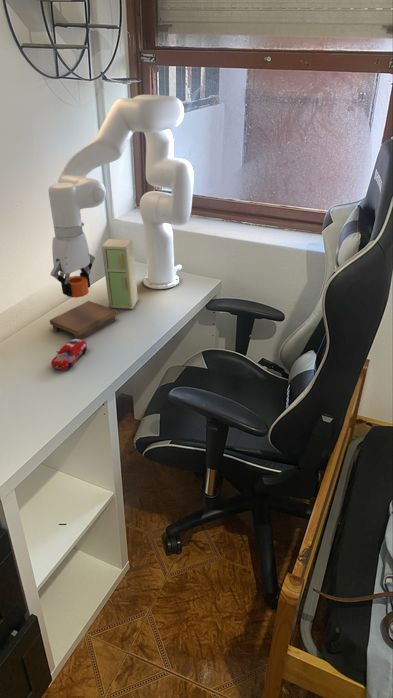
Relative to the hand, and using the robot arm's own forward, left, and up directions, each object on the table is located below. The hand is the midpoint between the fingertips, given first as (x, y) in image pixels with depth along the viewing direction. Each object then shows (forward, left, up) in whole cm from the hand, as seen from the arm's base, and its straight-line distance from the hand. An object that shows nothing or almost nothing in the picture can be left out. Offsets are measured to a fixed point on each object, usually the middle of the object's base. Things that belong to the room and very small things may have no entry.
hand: (76, 290), depth 152 cm
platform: (-1, 0, -12) cm, 12 cm away
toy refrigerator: (-18, 0, -12) cm, 22 cm away
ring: (0, 0, -1) cm, 1 cm away
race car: (+15, +11, -12) cm, 22 cm away
